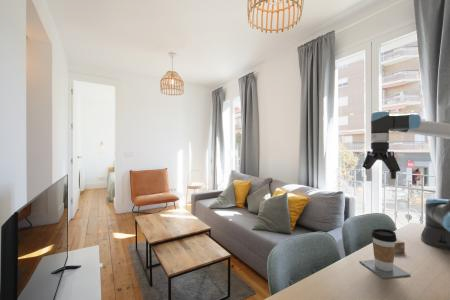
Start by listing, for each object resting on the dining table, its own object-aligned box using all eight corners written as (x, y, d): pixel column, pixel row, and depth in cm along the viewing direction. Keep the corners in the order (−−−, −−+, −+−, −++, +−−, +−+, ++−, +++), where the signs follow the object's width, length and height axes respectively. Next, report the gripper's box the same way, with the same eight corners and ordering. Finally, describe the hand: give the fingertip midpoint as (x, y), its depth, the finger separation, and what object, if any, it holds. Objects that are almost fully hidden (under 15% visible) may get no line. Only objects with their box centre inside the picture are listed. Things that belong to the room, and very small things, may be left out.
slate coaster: (383, 260, 97) (383, 258, 97) (410, 275, 85) (410, 274, 85) (359, 262, 95) (359, 260, 95) (383, 278, 83) (383, 277, 83)
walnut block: (394, 247, 108) (395, 237, 108) (404, 252, 104) (404, 242, 103) (386, 248, 108) (386, 238, 108) (395, 253, 103) (395, 243, 103)
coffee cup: (401, 274, 85) (401, 236, 85) (377, 272, 87) (377, 234, 86) (389, 262, 93) (389, 228, 93) (367, 261, 95) (367, 227, 95)
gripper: (355, 142, 123) (355, 179, 123) (395, 141, 98) (395, 188, 99) (367, 142, 124) (366, 179, 125) (410, 141, 99) (409, 187, 100)
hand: (379, 183), depth 112 cm, fingers open, 13 cm apart
